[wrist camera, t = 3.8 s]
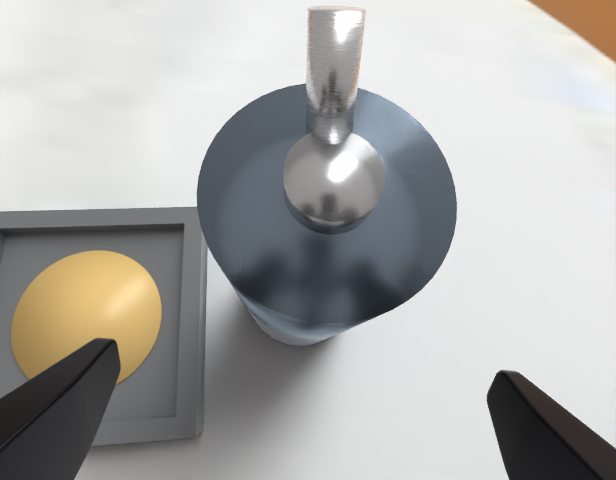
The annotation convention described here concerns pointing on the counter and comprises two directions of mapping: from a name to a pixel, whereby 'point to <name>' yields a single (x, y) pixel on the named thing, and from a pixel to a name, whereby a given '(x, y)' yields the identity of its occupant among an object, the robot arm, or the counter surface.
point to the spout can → (325, 196)
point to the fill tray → (110, 309)
